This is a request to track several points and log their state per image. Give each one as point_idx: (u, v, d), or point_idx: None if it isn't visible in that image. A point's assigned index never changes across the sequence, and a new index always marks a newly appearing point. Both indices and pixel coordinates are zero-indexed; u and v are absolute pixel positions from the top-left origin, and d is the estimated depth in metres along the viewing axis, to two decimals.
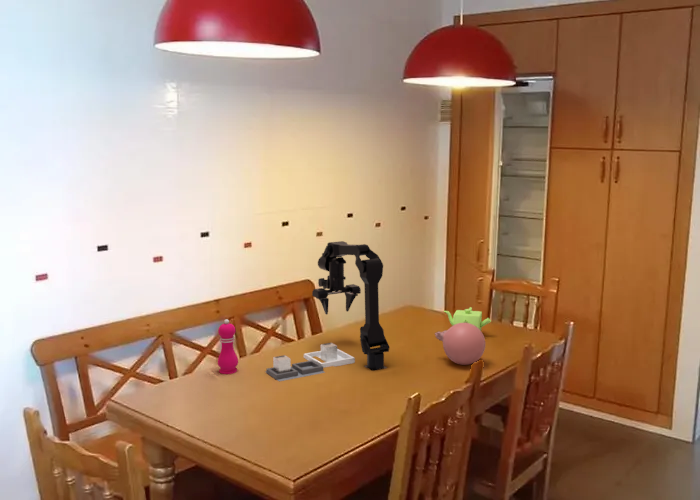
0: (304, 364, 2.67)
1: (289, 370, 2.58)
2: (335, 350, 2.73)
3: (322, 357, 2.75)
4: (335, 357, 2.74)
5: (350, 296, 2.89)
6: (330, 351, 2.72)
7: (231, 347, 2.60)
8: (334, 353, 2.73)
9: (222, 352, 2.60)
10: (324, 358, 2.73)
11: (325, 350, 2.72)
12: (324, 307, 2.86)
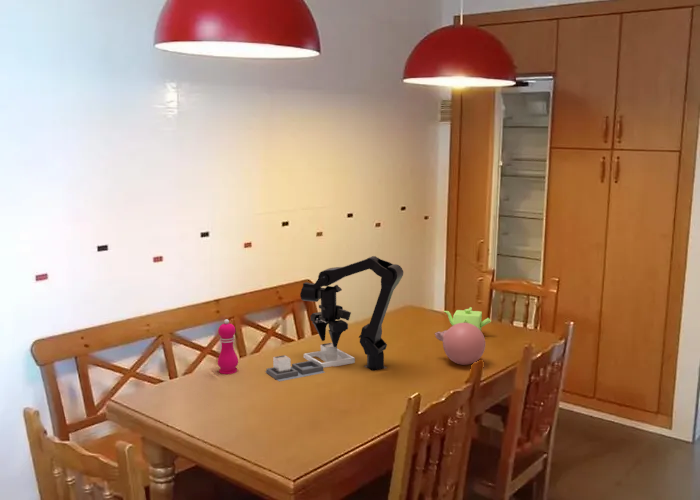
0: (304, 364, 2.67)
1: (289, 370, 2.58)
2: (335, 350, 2.73)
3: (322, 357, 2.75)
4: (335, 357, 2.74)
5: None
6: (330, 351, 2.72)
7: (231, 347, 2.60)
8: (334, 353, 2.73)
9: (222, 352, 2.60)
10: (324, 358, 2.73)
11: (325, 350, 2.72)
12: None
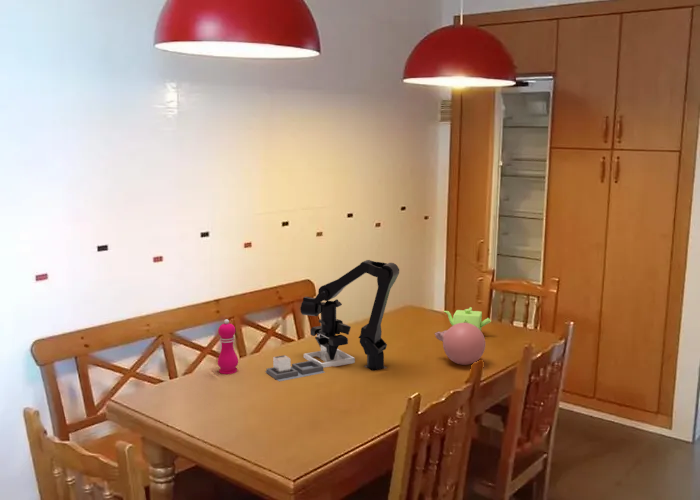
0: (304, 364, 2.67)
1: (289, 370, 2.58)
2: None
3: (322, 357, 2.75)
4: (335, 357, 2.74)
5: None
6: None
7: (231, 347, 2.60)
8: None
9: (222, 352, 2.60)
10: (324, 358, 2.73)
11: (325, 350, 2.72)
12: None
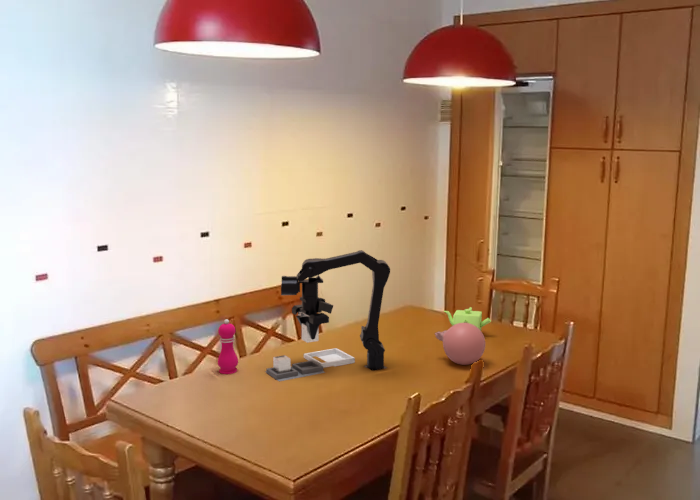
0: (304, 364, 2.67)
1: (289, 370, 2.58)
2: None
3: (302, 336, 2.64)
4: (316, 336, 2.63)
5: None
6: None
7: (231, 347, 2.60)
8: None
9: (222, 352, 2.60)
10: (305, 337, 2.62)
11: (305, 329, 2.62)
12: None
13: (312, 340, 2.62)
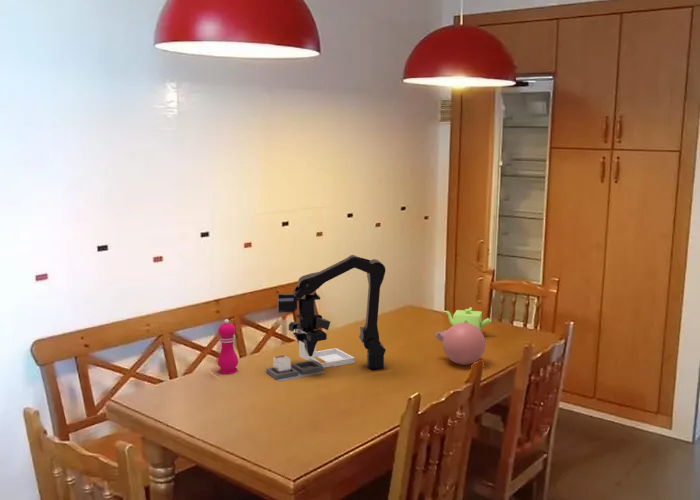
0: (304, 364, 2.67)
1: (289, 370, 2.58)
2: None
3: (300, 353, 2.63)
4: (314, 353, 2.62)
5: None
6: None
7: (231, 347, 2.60)
8: None
9: (222, 352, 2.60)
10: (303, 354, 2.61)
11: (303, 346, 2.60)
12: None
13: (310, 357, 2.61)
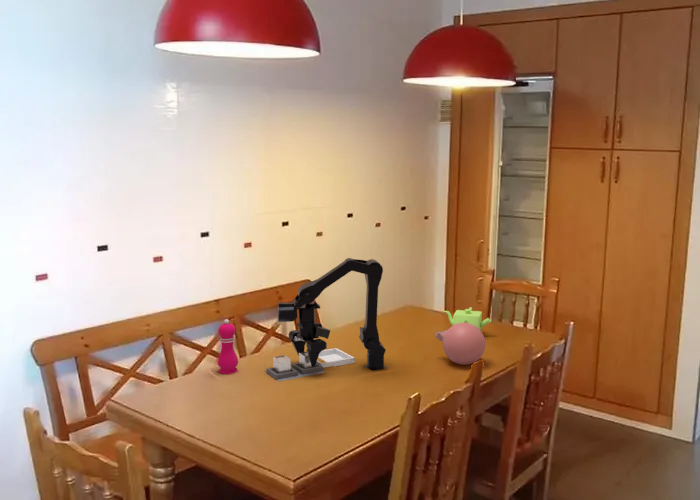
0: None
1: (289, 370, 2.58)
2: None
3: (300, 366, 2.64)
4: None
5: None
6: (309, 360, 2.61)
7: (231, 347, 2.60)
8: None
9: (222, 352, 2.60)
10: (303, 367, 2.62)
11: (303, 359, 2.61)
12: None
13: None
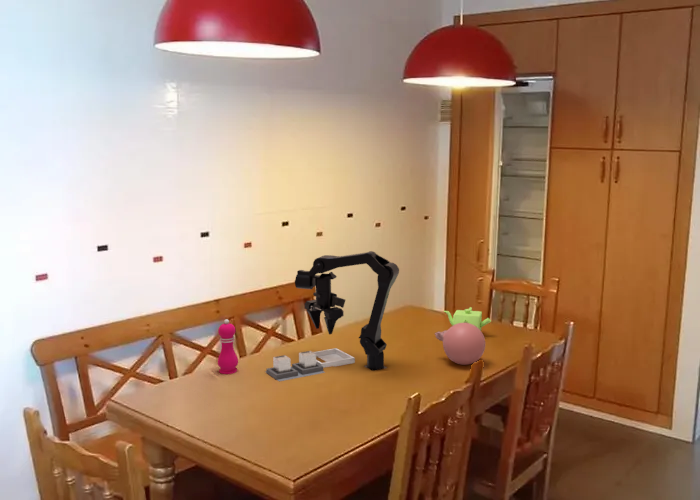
0: None
1: (289, 370, 2.58)
2: (314, 359, 2.62)
3: (300, 366, 2.64)
4: (314, 366, 2.63)
5: None
6: (309, 360, 2.61)
7: (231, 347, 2.60)
8: (313, 362, 2.62)
9: (222, 352, 2.60)
10: (303, 367, 2.62)
11: (303, 359, 2.61)
12: None
13: None
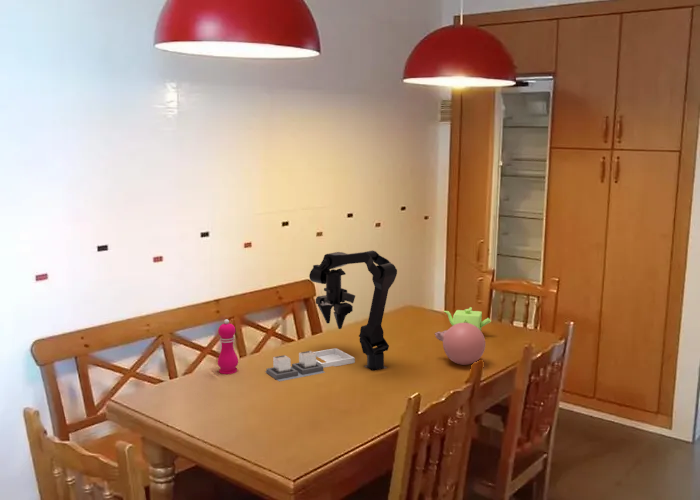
0: None
1: (289, 370, 2.58)
2: (314, 359, 2.62)
3: (300, 366, 2.64)
4: (314, 366, 2.63)
5: None
6: (309, 360, 2.61)
7: (231, 347, 2.60)
8: (313, 362, 2.62)
9: (222, 352, 2.60)
10: (303, 367, 2.62)
11: (303, 359, 2.61)
12: None
13: None
